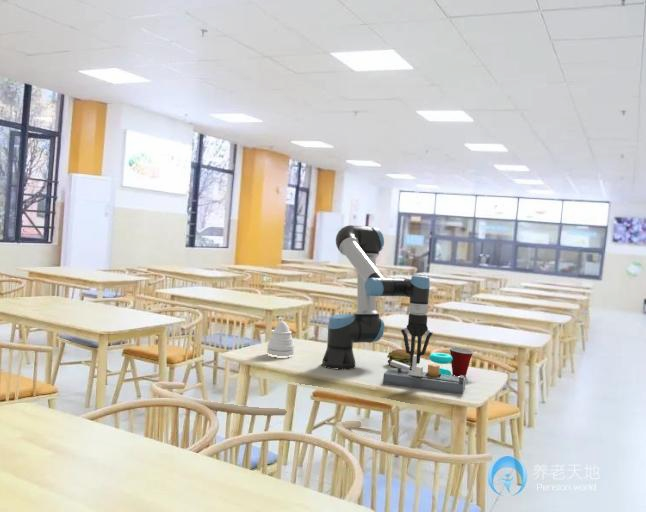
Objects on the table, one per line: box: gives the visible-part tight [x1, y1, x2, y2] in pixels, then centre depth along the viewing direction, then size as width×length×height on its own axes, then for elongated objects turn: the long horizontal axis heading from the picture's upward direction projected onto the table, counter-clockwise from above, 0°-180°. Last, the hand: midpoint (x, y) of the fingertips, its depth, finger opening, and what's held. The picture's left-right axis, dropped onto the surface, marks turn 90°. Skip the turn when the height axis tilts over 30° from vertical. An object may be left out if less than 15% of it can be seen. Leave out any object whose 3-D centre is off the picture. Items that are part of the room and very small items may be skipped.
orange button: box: [427, 363, 441, 377], centre depth 249 cm, size 5×5×5 cm
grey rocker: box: [390, 360, 411, 371], centre depth 254 cm, size 8×4×2 cm, turn 73°
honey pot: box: [266, 317, 295, 356], centre depth 288 cm, size 13×13×18 cm
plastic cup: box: [449, 346, 474, 377], centre depth 269 cm, size 11×11×12 cm
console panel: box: [382, 367, 467, 395], centre depth 248 cm, size 32×13×6 cm, turn 72°
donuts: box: [429, 352, 453, 376], centre depth 264 cm, size 10×10×10 cm
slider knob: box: [415, 364, 424, 377], centre depth 245 cm, size 2×4×4 cm, turn 162°
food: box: [386, 348, 413, 369], centre depth 282 cm, size 14×14×8 cm
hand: (414, 371), depth 245 cm, fingers closed
